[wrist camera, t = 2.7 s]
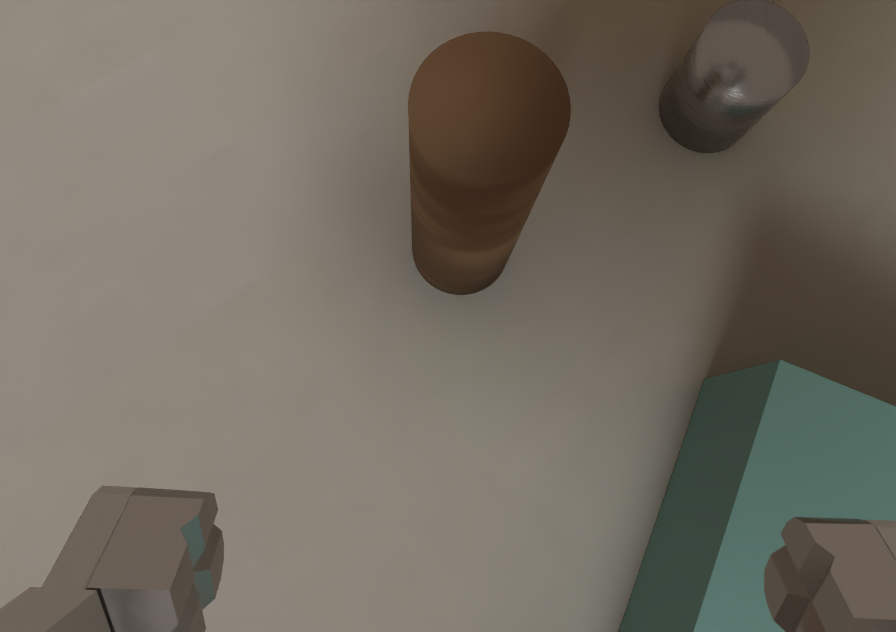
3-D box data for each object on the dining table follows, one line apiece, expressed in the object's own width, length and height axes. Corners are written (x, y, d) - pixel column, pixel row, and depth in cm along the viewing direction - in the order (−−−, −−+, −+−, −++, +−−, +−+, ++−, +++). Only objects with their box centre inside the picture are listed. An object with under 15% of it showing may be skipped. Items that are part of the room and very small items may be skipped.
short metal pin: (646, 132, 25) (688, 72, 21) (675, 55, 26) (722, -17, 22) (732, 166, 25) (791, 113, 21) (760, 88, 26) (822, 22, 22)
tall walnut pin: (396, 272, 24) (382, 145, 14) (434, 188, 24) (446, 8, 15) (487, 309, 24) (536, 207, 14) (522, 223, 24) (593, 67, 14)
